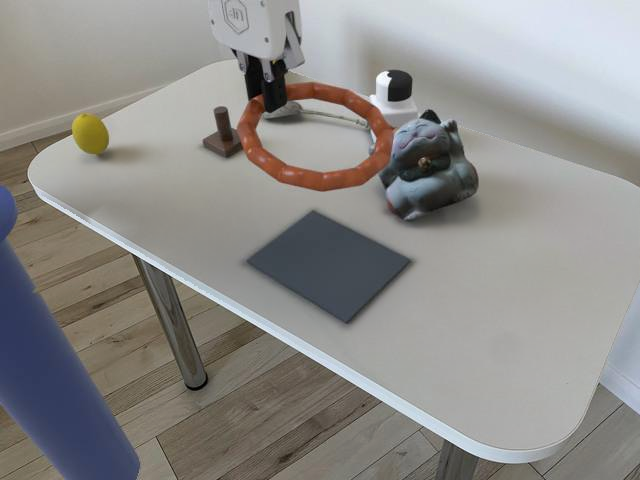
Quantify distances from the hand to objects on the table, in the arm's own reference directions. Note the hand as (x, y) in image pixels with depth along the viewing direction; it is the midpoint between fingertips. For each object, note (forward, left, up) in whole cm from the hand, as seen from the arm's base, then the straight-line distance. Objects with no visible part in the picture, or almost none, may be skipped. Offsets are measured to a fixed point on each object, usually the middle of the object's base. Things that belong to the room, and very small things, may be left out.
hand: (268, 103), depth 66 cm
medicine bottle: (+31, +3, -21) cm, 38 cm away
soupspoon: (+27, +18, -21) cm, 39 cm away
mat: (0, -8, -21) cm, 23 cm away
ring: (0, -8, -1) cm, 8 cm away
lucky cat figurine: (+20, -10, -21) cm, 31 cm away
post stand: (+12, +26, -21) cm, 35 cm away
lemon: (-4, +42, -21) cm, 47 cm away
